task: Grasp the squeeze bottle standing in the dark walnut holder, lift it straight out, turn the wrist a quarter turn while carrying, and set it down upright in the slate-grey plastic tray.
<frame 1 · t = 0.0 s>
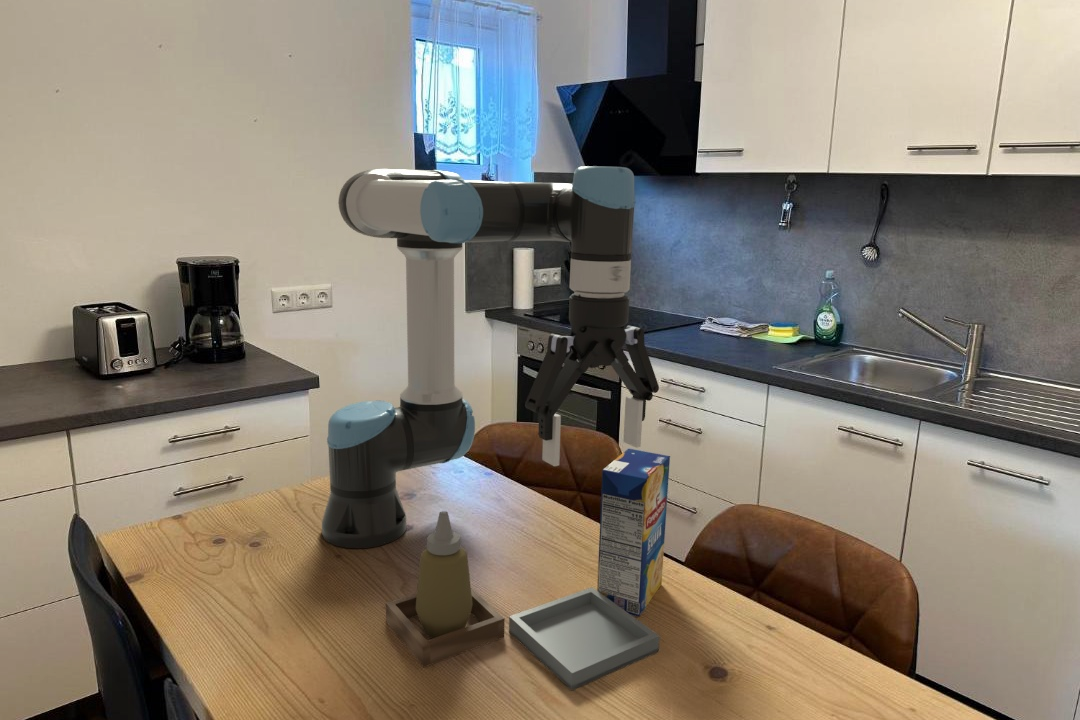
hand: (592, 453, 97), 28 cm above the table, fingers open, 13 cm apart
beverage box: (629, 595, 116), on the table
squeeze bottle: (444, 630, 105), resting in holder
holder: (444, 629, 105), on the table
tray: (582, 641, 103), on the table
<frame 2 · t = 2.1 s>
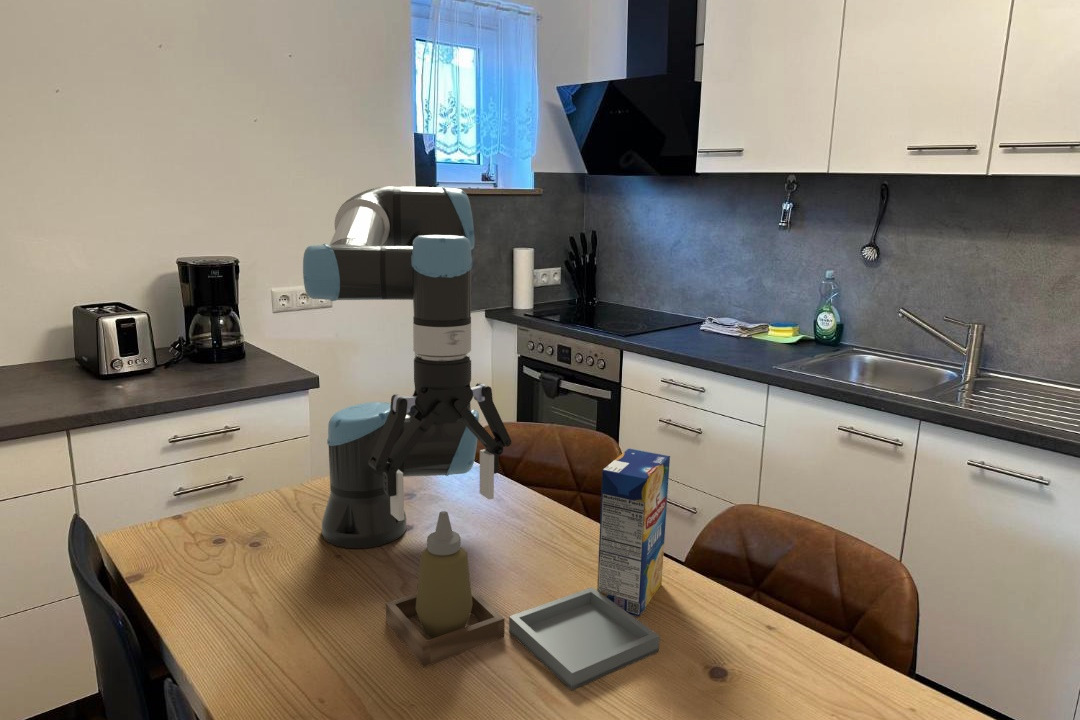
hand: (443, 506, 101), 19 cm above the table, fingers open, 13 cm apart
nothing on the table moved.
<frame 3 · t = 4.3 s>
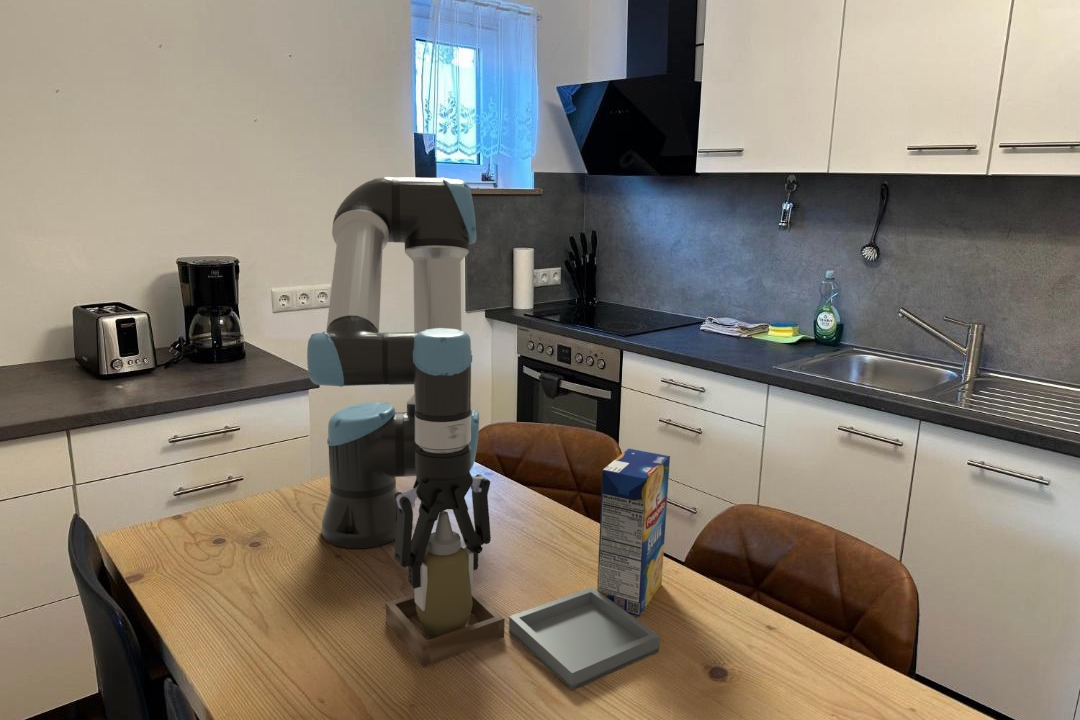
hand: (444, 598, 104), 5 cm above the table, fingers closed on squeeze bottle, 6 cm apart
squeeze bottle: (444, 630, 105), resting in holder, touching gripper
everything else where it was.
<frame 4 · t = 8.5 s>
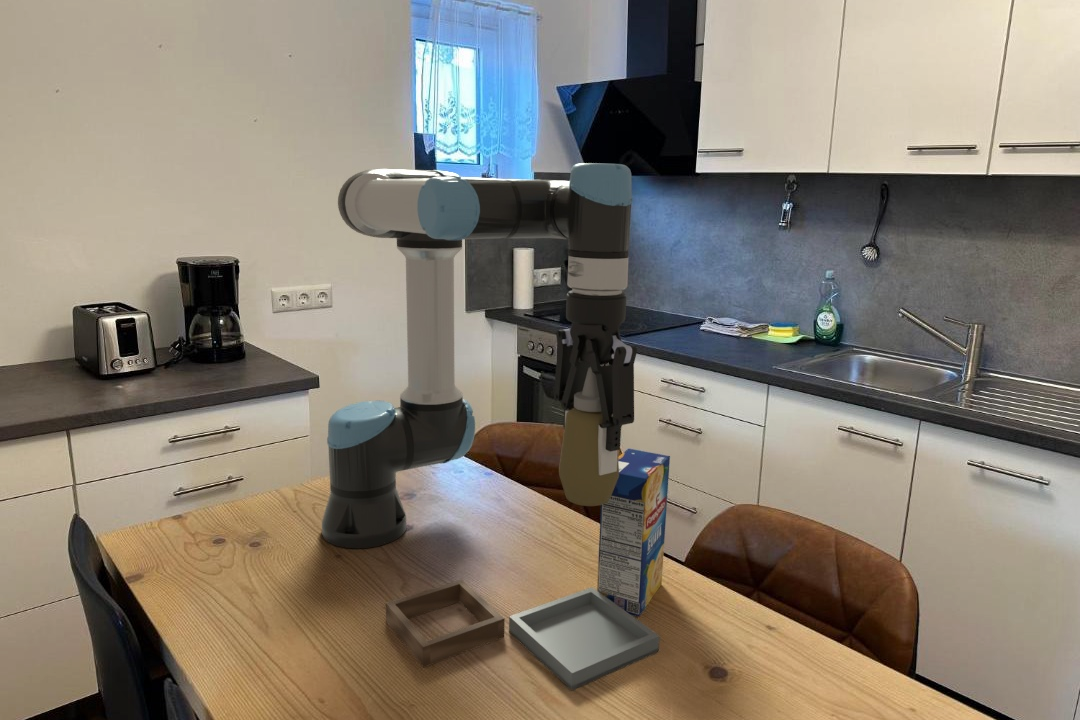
hand: (589, 463, 97), 27 cm above the table, fingers closed on squeeze bottle, 6 cm apart
squeeze bottle: (587, 499, 98), point 21 cm above the table, touching gripper
everything else where it was.
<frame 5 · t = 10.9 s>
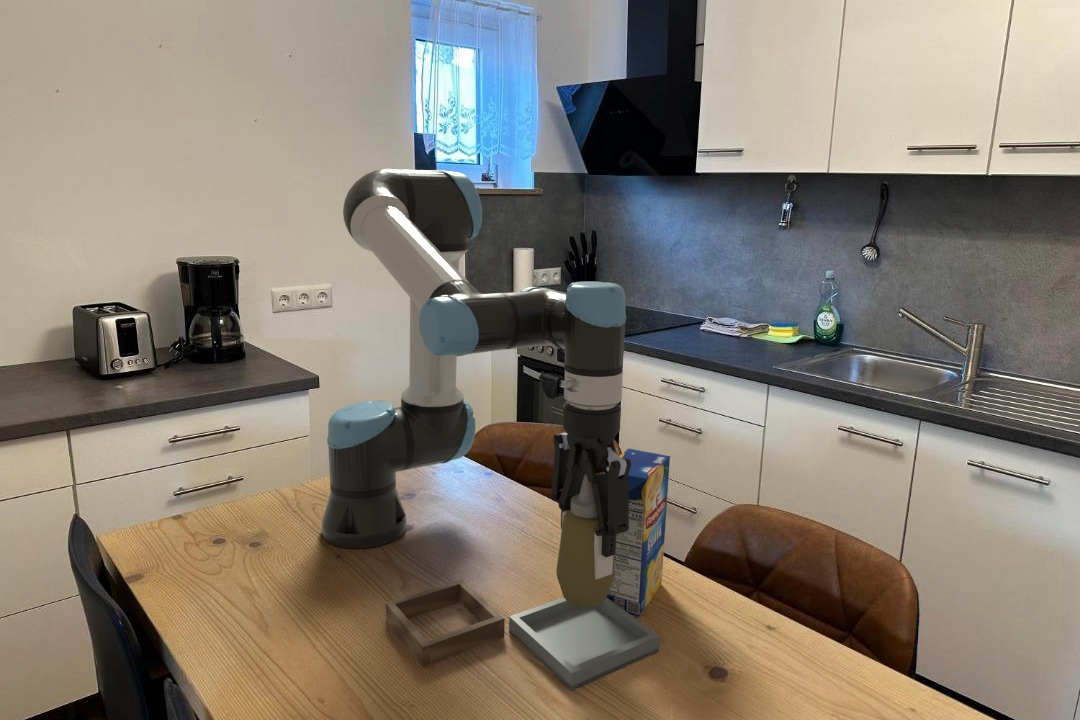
hand: (586, 563, 100), 12 cm above the table, fingers closed on squeeze bottle, 6 cm apart
squeeze bottle: (584, 598, 101), point 7 cm above the table, touching gripper
everything else where it was.
when the fingers open (7 cm above the table, at t = 12.8 s): squeeze bottle drops 1 cm, resting on tray.
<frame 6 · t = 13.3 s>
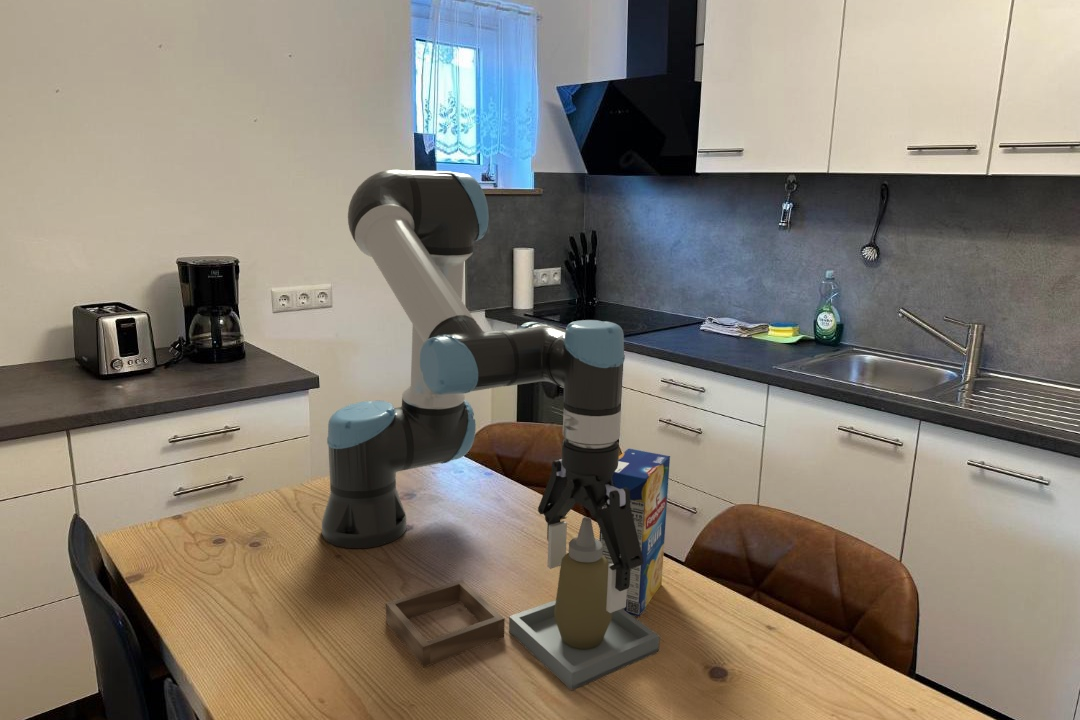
hand: (584, 586, 101), 9 cm above the table, fingers open, 13 cm apart
squeeze bottle: (581, 639, 103), resting on tray
everything else where it was.
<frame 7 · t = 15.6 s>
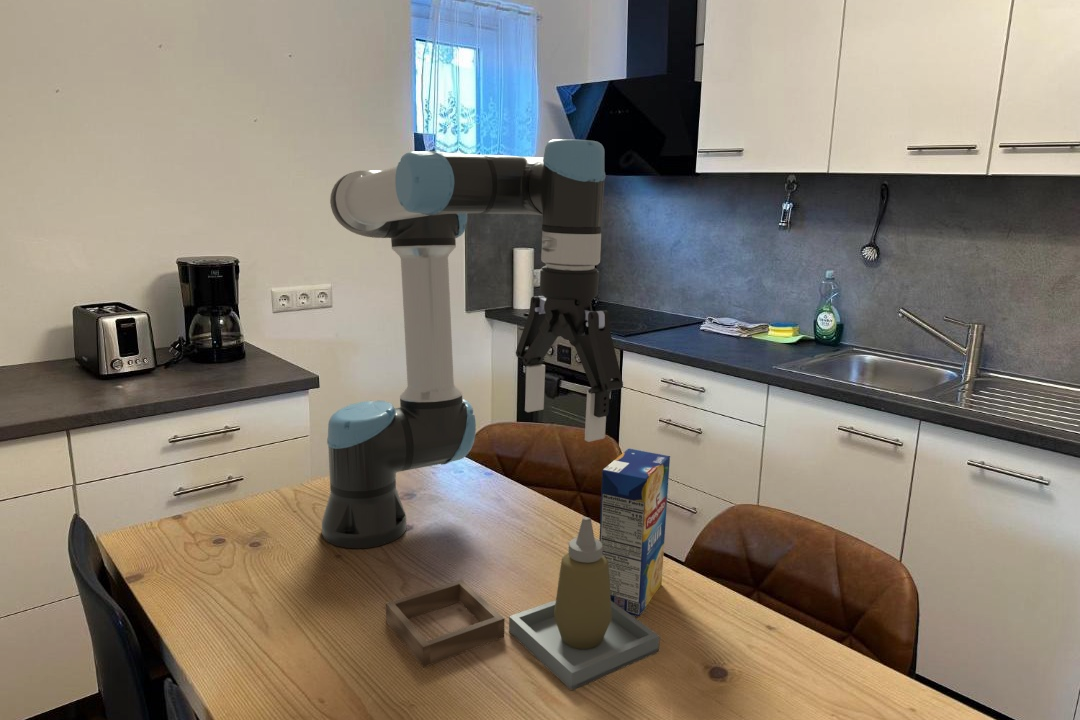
hand: (562, 424, 99), 31 cm above the table, fingers open, 13 cm apart
nothing on the table moved.
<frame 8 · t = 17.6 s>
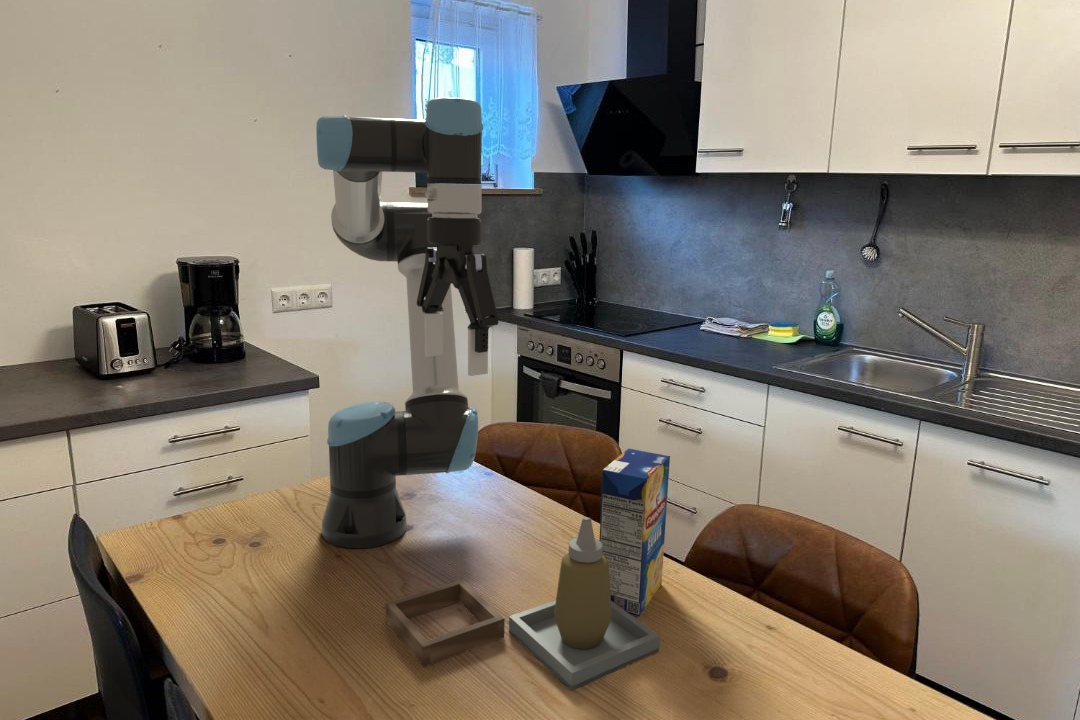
hand: (454, 364, 107), 37 cm above the table, fingers open, 13 cm apart
nothing on the table moved.
at the end: squeeze bottle inside the target area on the tray (0.1 cm from its centre), point 0.4 cm above the tray's base; squeeze bottle tilted 0°; the gripper is holding nothing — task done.
